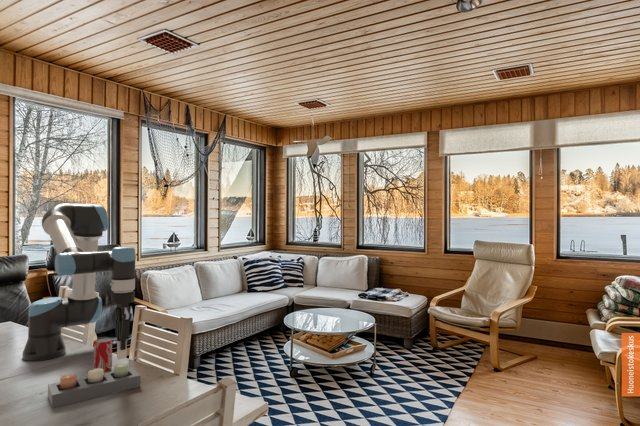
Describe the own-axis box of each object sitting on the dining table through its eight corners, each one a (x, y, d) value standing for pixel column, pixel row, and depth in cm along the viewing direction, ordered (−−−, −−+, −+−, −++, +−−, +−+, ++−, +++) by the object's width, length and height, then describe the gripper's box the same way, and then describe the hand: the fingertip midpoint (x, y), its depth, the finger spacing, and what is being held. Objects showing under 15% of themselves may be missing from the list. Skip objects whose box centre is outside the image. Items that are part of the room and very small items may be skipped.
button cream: (86, 379, 139) (86, 370, 139) (101, 376, 142) (101, 367, 142) (89, 383, 136) (89, 374, 136) (104, 380, 139) (105, 371, 139)
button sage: (112, 373, 144) (112, 365, 144) (126, 370, 147) (126, 362, 147) (115, 377, 141) (115, 369, 141) (129, 374, 144) (130, 366, 144)
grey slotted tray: (47, 396, 135) (48, 384, 135) (131, 377, 151) (132, 366, 151) (52, 408, 127) (52, 395, 127) (140, 386, 144) (140, 375, 144)
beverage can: (103, 375, 153) (104, 343, 153) (89, 373, 154) (90, 341, 154) (115, 369, 159) (116, 338, 159) (101, 367, 160) (102, 337, 160)
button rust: (58, 385, 134) (59, 375, 134) (75, 381, 137) (75, 372, 137) (61, 389, 131) (61, 380, 131) (77, 386, 134) (77, 377, 134)
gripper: (106, 289, 147) (105, 355, 147) (116, 294, 137) (114, 365, 137) (129, 287, 152) (127, 351, 151) (139, 292, 142) (138, 361, 141)
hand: (121, 358), depth 144 cm, fingers closed
